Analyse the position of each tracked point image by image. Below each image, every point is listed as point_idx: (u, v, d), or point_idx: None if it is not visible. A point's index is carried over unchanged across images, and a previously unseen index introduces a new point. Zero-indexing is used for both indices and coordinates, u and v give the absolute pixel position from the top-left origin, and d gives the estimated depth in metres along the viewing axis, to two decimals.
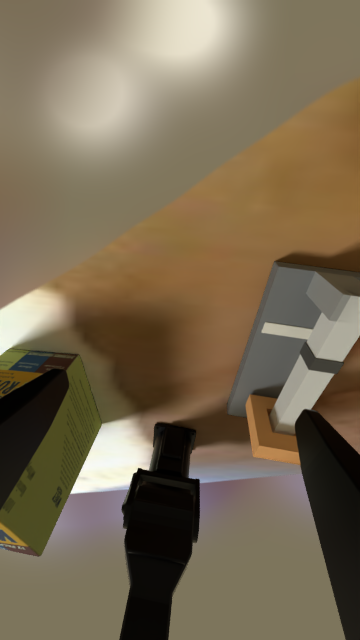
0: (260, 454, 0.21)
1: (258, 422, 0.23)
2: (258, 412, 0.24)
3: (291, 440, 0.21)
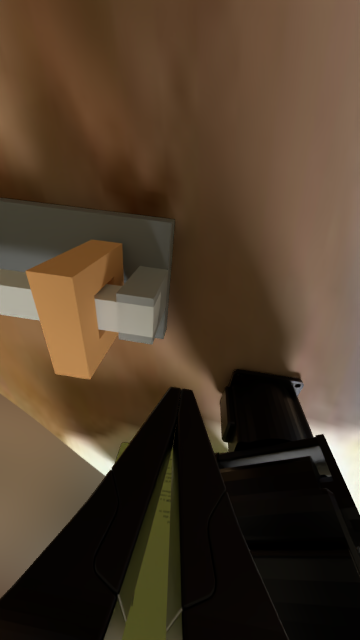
0: (78, 370, 0.12)
1: None
2: None
3: None
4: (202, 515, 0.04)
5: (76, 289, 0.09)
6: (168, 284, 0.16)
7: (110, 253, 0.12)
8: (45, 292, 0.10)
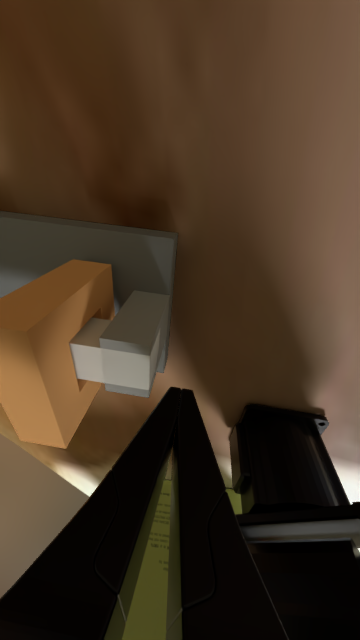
0: (50, 439, 0.09)
1: None
2: None
3: None
4: (202, 515, 0.04)
5: (35, 345, 0.06)
6: (169, 310, 0.13)
7: (93, 280, 0.09)
8: None
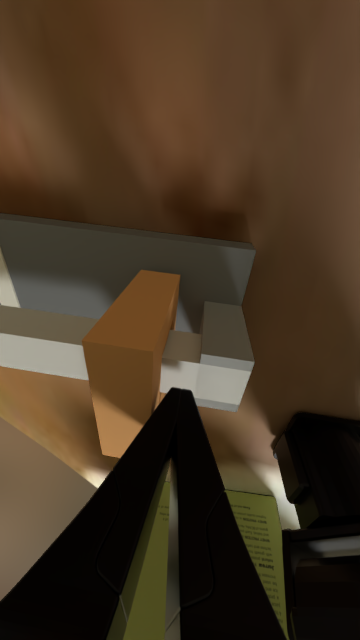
0: None
1: None
2: None
3: None
4: (201, 515, 0.04)
5: (154, 364, 0.06)
6: None
7: (174, 293, 0.09)
8: (107, 367, 0.06)
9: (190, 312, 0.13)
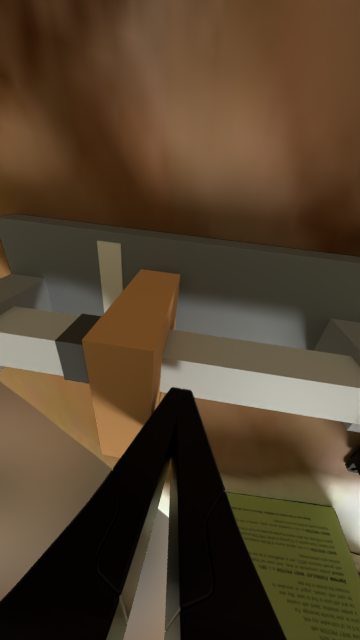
0: None
1: None
2: None
3: None
4: (201, 515, 0.04)
5: (154, 363, 0.06)
6: None
7: (174, 292, 0.09)
8: (107, 367, 0.06)
9: (310, 329, 0.12)
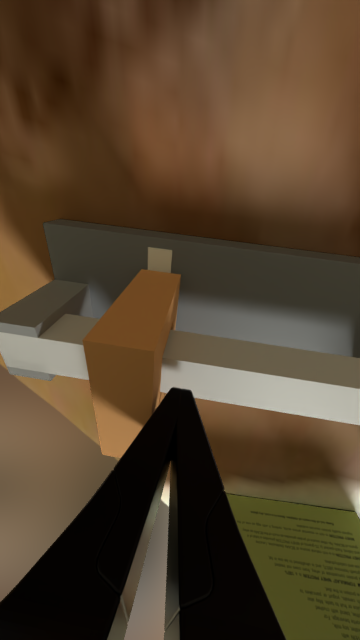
0: None
1: None
2: None
3: None
4: (200, 515, 0.04)
5: (155, 364, 0.06)
6: None
7: (175, 292, 0.09)
8: (108, 367, 0.06)
9: (359, 337, 0.12)
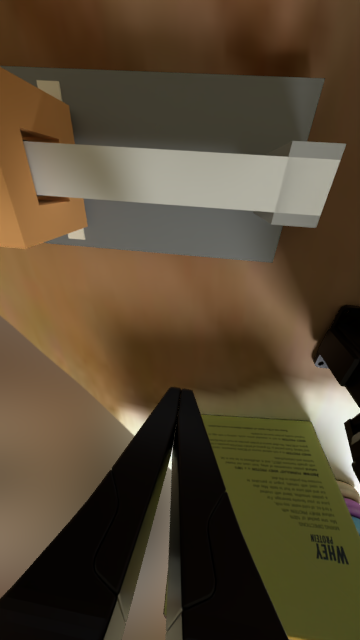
0: (9, 234, 0.10)
1: None
2: None
3: None
4: (202, 515, 0.04)
5: None
6: None
7: (46, 96, 0.10)
8: None
9: None
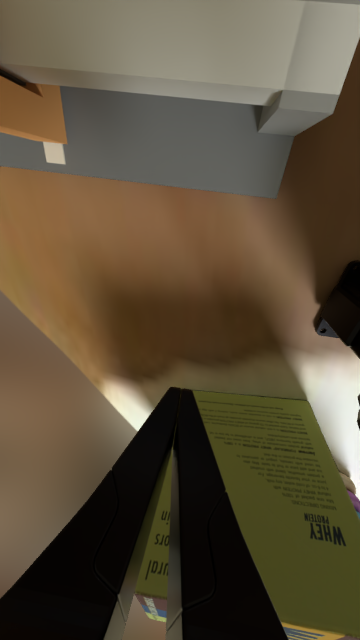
0: None
1: None
2: None
3: None
4: (202, 515, 0.04)
5: None
6: None
7: None
8: None
9: None
